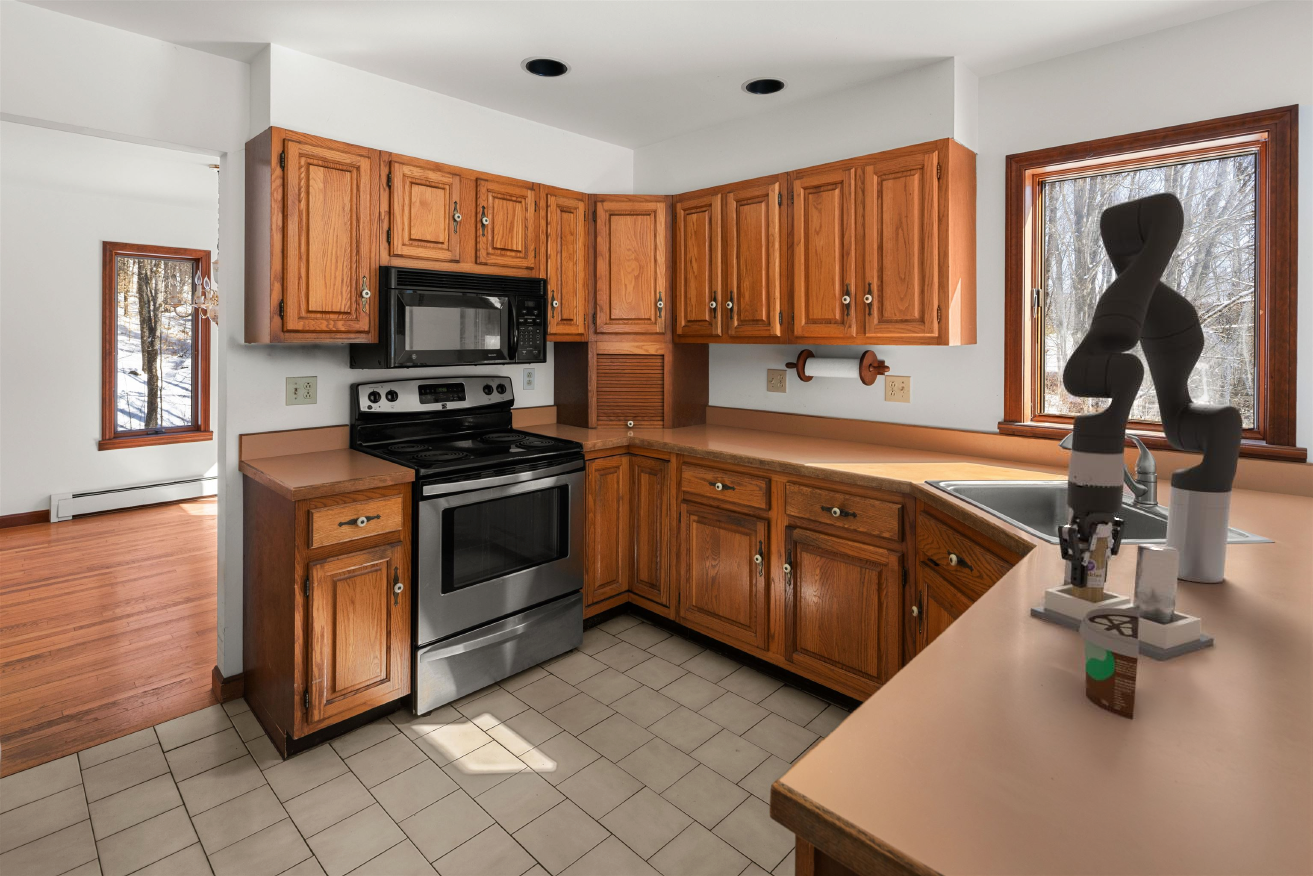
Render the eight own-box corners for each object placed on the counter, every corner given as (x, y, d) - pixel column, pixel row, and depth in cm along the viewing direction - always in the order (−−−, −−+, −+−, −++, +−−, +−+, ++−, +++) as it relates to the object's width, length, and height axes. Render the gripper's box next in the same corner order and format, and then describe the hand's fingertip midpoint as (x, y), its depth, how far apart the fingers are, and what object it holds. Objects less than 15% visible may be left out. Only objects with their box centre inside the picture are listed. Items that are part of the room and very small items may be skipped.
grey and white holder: (1081, 602, 122) (1082, 579, 121) (1213, 644, 104) (1215, 618, 103) (1030, 614, 116) (1031, 590, 115) (1161, 660, 98) (1163, 633, 98)
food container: (1078, 672, 95) (1083, 600, 93) (1134, 684, 91) (1140, 609, 90) (1070, 709, 84) (1076, 629, 83) (1132, 724, 81) (1139, 641, 80)
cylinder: (1143, 625, 108) (1150, 542, 107) (1179, 636, 104) (1187, 550, 103) (1123, 630, 106) (1130, 546, 105) (1159, 642, 102) (1166, 554, 100)
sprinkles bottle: (1073, 606, 113) (1079, 524, 111) (1068, 597, 117) (1074, 518, 115) (1106, 610, 111) (1112, 526, 110) (1100, 601, 115) (1106, 520, 114)
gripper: (1100, 472, 118) (1093, 572, 120) (1043, 479, 112) (1037, 583, 114) (1147, 479, 111) (1139, 584, 113) (1090, 487, 105) (1082, 598, 107)
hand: (1088, 583), depth 114 cm, fingers closed on sprinkles bottle, 4 cm apart
